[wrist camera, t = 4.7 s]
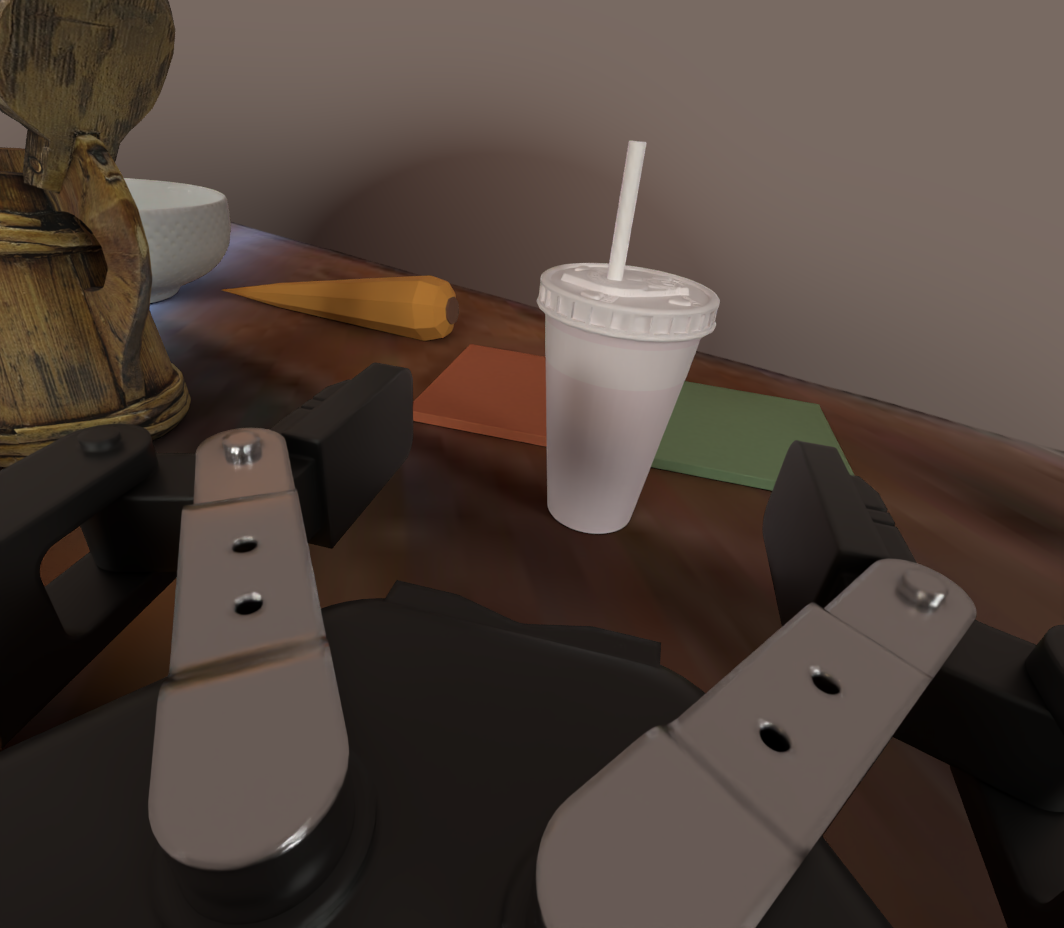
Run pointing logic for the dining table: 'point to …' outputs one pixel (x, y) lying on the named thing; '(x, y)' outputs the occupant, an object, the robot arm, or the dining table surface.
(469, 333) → the dining table surface
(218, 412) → the dining table surface
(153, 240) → the cereal bowl
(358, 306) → the carrot
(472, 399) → the terracotta mat
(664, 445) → the green mat
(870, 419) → the dining table surface
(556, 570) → the dining table surface
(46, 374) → the wooden mug
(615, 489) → the smoothie
